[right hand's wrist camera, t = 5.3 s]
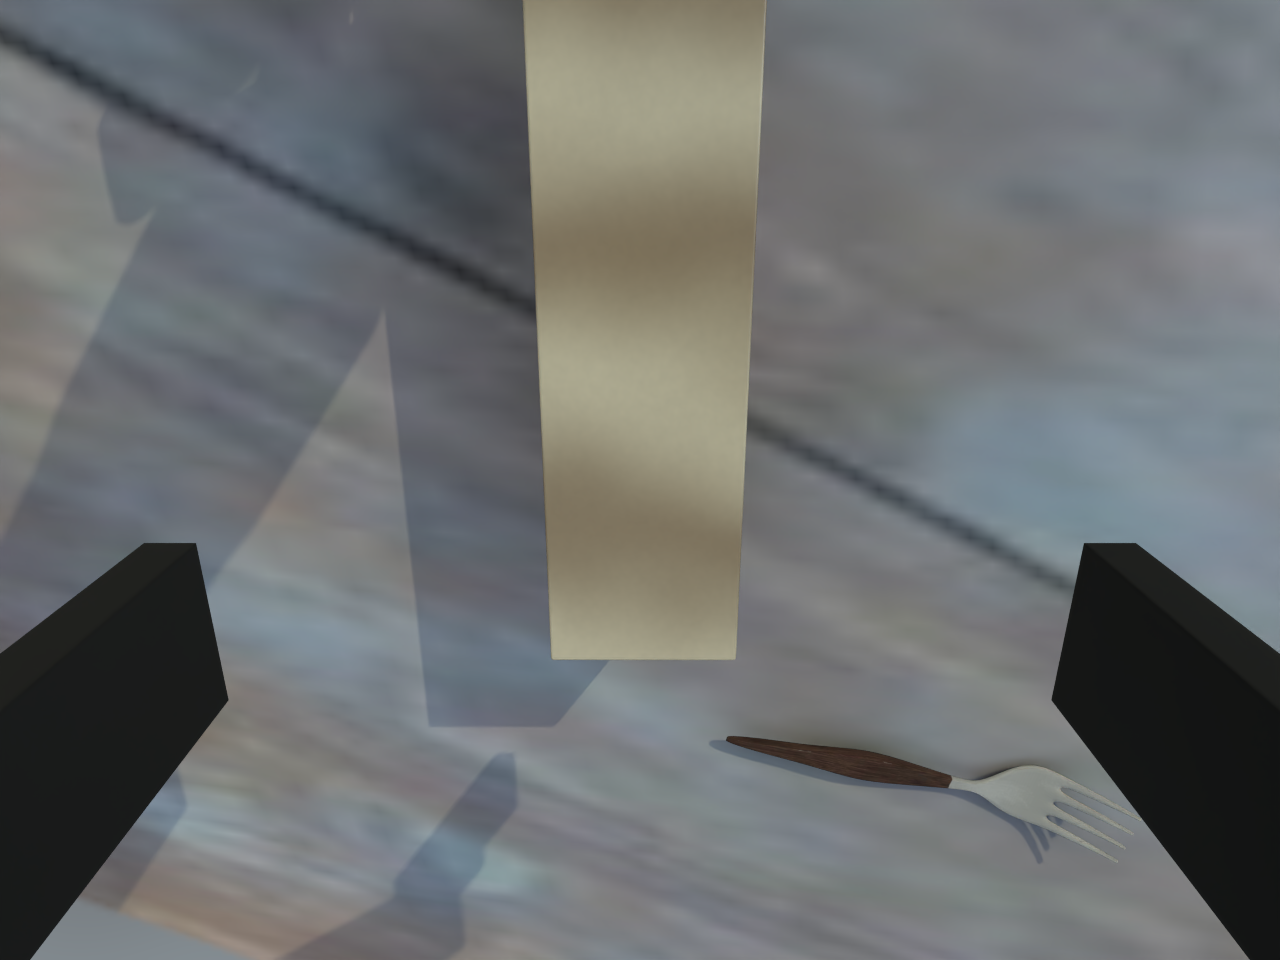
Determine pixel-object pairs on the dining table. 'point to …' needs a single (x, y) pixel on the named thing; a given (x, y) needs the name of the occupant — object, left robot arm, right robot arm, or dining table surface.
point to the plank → (644, 314)
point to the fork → (957, 783)
